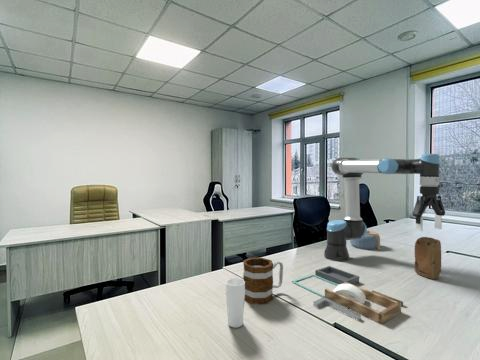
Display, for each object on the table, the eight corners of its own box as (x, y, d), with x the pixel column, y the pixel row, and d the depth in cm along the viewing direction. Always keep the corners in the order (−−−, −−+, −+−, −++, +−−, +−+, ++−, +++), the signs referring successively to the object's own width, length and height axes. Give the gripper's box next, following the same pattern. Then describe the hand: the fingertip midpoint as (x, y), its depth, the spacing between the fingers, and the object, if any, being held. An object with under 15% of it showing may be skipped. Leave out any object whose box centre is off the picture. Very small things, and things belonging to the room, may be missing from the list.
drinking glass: (225, 319, 92) (225, 278, 91) (244, 318, 92) (244, 277, 92) (226, 330, 85) (226, 286, 85) (246, 329, 85) (246, 285, 85)
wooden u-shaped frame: (324, 297, 108) (324, 289, 108) (344, 288, 116) (344, 281, 116) (381, 324, 88) (382, 314, 88) (401, 312, 96) (401, 303, 96)
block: (442, 279, 128) (443, 240, 128) (432, 281, 125) (433, 241, 125) (421, 271, 138) (421, 235, 138) (411, 273, 136) (412, 236, 135)
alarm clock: (385, 250, 178) (385, 233, 178) (356, 250, 178) (357, 233, 178) (371, 243, 197) (371, 227, 197) (345, 243, 197) (346, 227, 197)
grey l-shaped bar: (313, 306, 101) (313, 301, 101) (324, 301, 105) (324, 297, 105) (350, 325, 88) (350, 320, 88) (360, 319, 92) (360, 314, 92)
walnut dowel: (371, 295, 111) (370, 291, 110) (373, 293, 112) (373, 289, 111) (401, 307, 101) (400, 303, 100) (403, 304, 102) (402, 300, 102)
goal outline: (291, 282, 124) (291, 281, 124) (313, 275, 133) (313, 274, 133) (323, 297, 108) (323, 296, 108) (345, 288, 117) (345, 287, 117)
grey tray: (315, 275, 132) (315, 270, 132) (329, 271, 138) (329, 265, 138) (345, 288, 117) (345, 281, 117) (359, 282, 124) (359, 276, 124)
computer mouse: (364, 306, 101) (364, 291, 101) (331, 298, 108) (331, 284, 108) (366, 300, 106) (366, 285, 106) (334, 292, 113) (334, 278, 113)
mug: (251, 307, 100) (251, 270, 99) (237, 293, 112) (237, 259, 112) (291, 297, 108) (291, 262, 108) (274, 285, 120) (274, 254, 120)
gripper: (419, 186, 114) (419, 233, 114) (454, 185, 123) (453, 229, 123) (403, 185, 121) (403, 229, 121) (437, 185, 130) (437, 226, 130)
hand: (428, 229), depth 122 cm, fingers open, 13 cm apart
